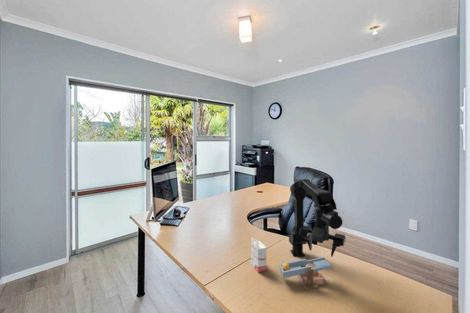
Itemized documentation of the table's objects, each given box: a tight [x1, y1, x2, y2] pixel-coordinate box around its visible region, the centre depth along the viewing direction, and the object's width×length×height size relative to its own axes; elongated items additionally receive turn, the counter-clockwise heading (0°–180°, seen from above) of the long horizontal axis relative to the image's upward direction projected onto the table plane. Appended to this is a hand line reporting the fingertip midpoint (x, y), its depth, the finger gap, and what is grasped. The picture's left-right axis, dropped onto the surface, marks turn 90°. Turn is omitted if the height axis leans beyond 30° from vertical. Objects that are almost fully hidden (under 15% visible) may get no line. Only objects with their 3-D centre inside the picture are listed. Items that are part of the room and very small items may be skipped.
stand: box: [299, 258, 319, 290], centre depth 101 cm, size 6×11×8 cm, turn 3°
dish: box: [297, 271, 326, 286], centre depth 102 cm, size 10×7×3 cm
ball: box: [282, 262, 290, 271], centre depth 101 cm, size 4×4×4 cm
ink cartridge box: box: [250, 236, 268, 273], centre depth 112 cm, size 9×5×15 cm, turn 21°
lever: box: [278, 256, 333, 279], centre depth 101 cm, size 22×7×3 cm, turn 92°
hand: (321, 253), depth 100 cm, fingers open, 9 cm apart
